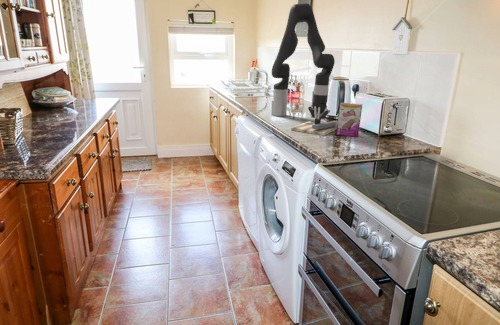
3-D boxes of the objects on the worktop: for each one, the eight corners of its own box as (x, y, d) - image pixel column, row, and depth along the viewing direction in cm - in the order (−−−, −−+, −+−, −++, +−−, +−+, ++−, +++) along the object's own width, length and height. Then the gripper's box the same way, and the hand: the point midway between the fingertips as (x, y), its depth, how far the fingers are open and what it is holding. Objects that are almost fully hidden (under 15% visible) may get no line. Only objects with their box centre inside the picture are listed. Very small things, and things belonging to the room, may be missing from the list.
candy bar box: (335, 135, 178) (339, 103, 173) (336, 133, 182) (340, 102, 177) (358, 137, 175) (362, 105, 169) (358, 135, 179) (362, 103, 174)
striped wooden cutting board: (291, 130, 187) (291, 126, 186) (310, 122, 206) (310, 119, 206) (324, 135, 177) (325, 132, 176) (341, 127, 196) (341, 124, 196)
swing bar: (317, 129, 179) (317, 126, 178) (311, 128, 181) (312, 124, 181) (338, 125, 191) (338, 121, 190) (333, 124, 193) (333, 120, 192)
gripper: (306, 92, 182) (303, 124, 188) (327, 95, 173) (323, 129, 179) (314, 91, 187) (311, 122, 193) (335, 94, 178) (331, 126, 184)
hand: (317, 125), depth 186 cm, fingers closed
